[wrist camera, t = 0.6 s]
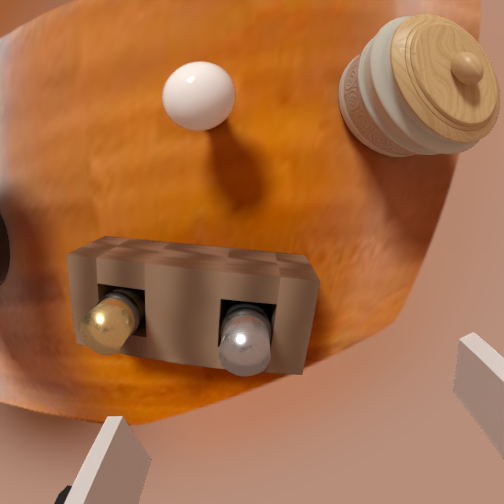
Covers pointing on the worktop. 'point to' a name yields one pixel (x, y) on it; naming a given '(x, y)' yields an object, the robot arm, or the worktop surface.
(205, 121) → the lightbulb
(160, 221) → the worktop surface
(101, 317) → the brass peg
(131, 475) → the robot arm
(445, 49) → the jar
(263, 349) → the steel peg
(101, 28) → the worktop surface
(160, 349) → the socket block
